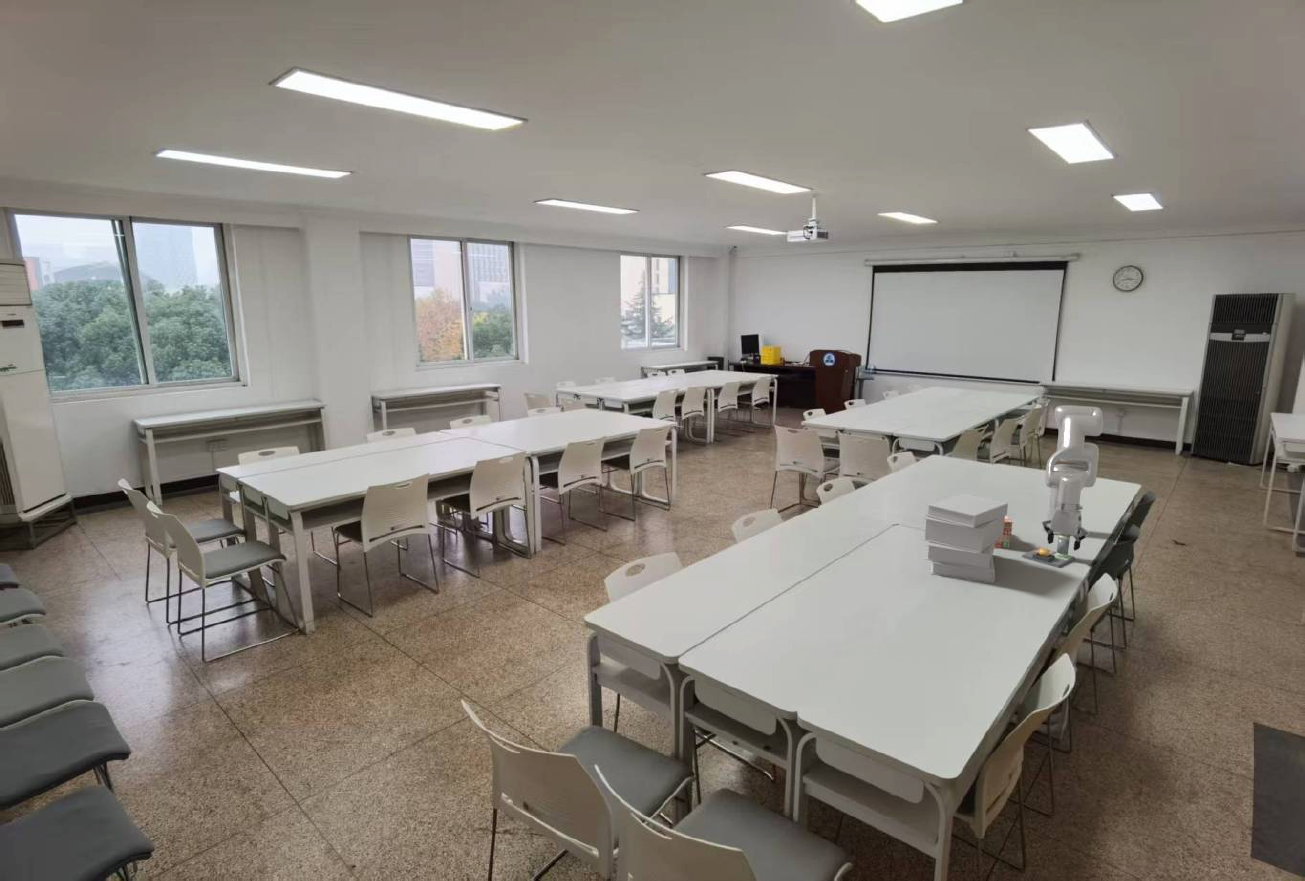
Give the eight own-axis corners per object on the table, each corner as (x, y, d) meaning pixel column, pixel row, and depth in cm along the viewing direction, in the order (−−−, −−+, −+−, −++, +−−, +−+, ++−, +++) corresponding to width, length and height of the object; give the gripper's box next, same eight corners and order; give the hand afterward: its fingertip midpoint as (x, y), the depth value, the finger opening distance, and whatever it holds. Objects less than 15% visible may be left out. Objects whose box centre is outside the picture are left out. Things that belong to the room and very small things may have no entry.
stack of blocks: (978, 531, 304) (980, 506, 301) (992, 532, 303) (995, 506, 300) (994, 548, 283) (997, 520, 280) (1010, 548, 282) (1012, 521, 279)
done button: (1041, 552, 270) (1041, 548, 269) (1050, 555, 267) (1051, 550, 266) (1037, 554, 268) (1037, 550, 267) (1046, 557, 265) (1047, 552, 264)
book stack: (999, 554, 275) (1005, 495, 270) (1006, 586, 243) (1013, 520, 238) (922, 545, 287) (926, 488, 282) (919, 574, 255) (924, 511, 250)
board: (1039, 549, 280) (1039, 544, 280) (1075, 559, 269) (1075, 553, 268) (1022, 557, 272) (1022, 551, 271) (1058, 567, 260) (1059, 561, 260)
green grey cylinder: (1058, 553, 272) (1061, 533, 270) (1069, 556, 269) (1071, 535, 267) (1054, 555, 270) (1056, 535, 268) (1064, 558, 267) (1067, 537, 265)
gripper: (1095, 509, 260) (1090, 550, 264) (1049, 499, 274) (1045, 538, 278) (1087, 513, 256) (1082, 554, 260) (1040, 503, 270) (1036, 542, 273)
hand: (1063, 546), depth 269 cm, fingers open, 9 cm apart
